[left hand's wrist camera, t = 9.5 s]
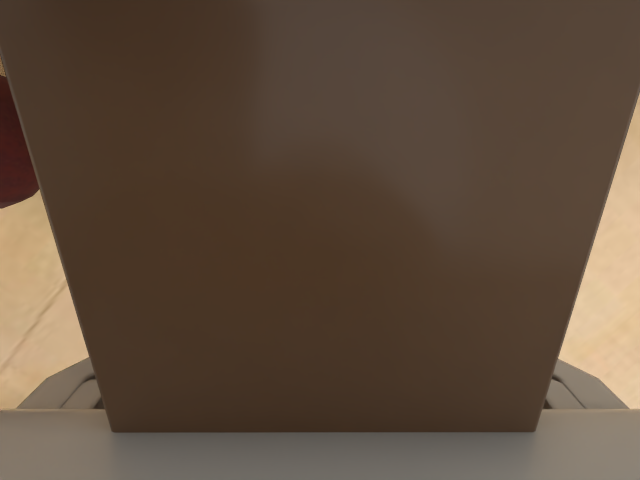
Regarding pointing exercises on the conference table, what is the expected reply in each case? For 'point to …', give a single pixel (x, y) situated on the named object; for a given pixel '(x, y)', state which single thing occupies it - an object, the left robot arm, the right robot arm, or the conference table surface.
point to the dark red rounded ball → (13, 154)
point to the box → (323, 200)
